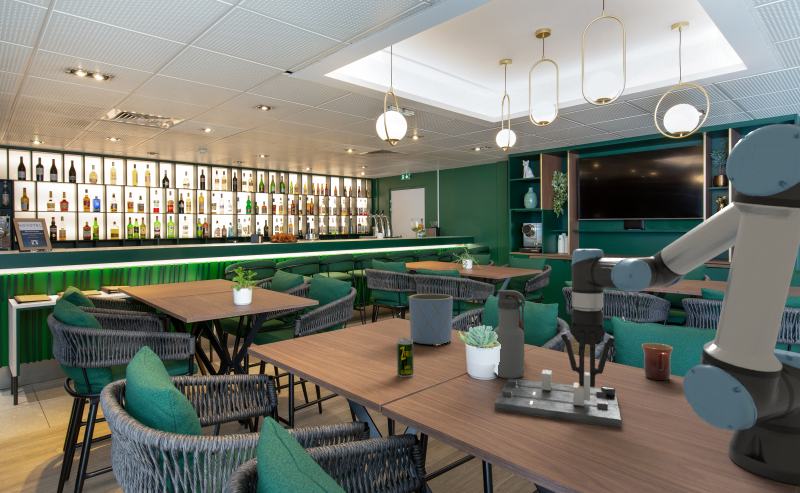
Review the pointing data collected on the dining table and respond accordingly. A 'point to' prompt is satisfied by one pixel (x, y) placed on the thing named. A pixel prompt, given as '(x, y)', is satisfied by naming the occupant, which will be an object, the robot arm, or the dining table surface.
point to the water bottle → (510, 335)
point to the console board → (559, 402)
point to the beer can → (405, 357)
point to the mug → (657, 361)
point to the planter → (431, 318)
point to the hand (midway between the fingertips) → (586, 398)
